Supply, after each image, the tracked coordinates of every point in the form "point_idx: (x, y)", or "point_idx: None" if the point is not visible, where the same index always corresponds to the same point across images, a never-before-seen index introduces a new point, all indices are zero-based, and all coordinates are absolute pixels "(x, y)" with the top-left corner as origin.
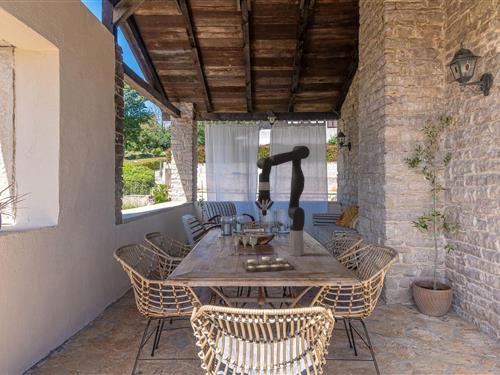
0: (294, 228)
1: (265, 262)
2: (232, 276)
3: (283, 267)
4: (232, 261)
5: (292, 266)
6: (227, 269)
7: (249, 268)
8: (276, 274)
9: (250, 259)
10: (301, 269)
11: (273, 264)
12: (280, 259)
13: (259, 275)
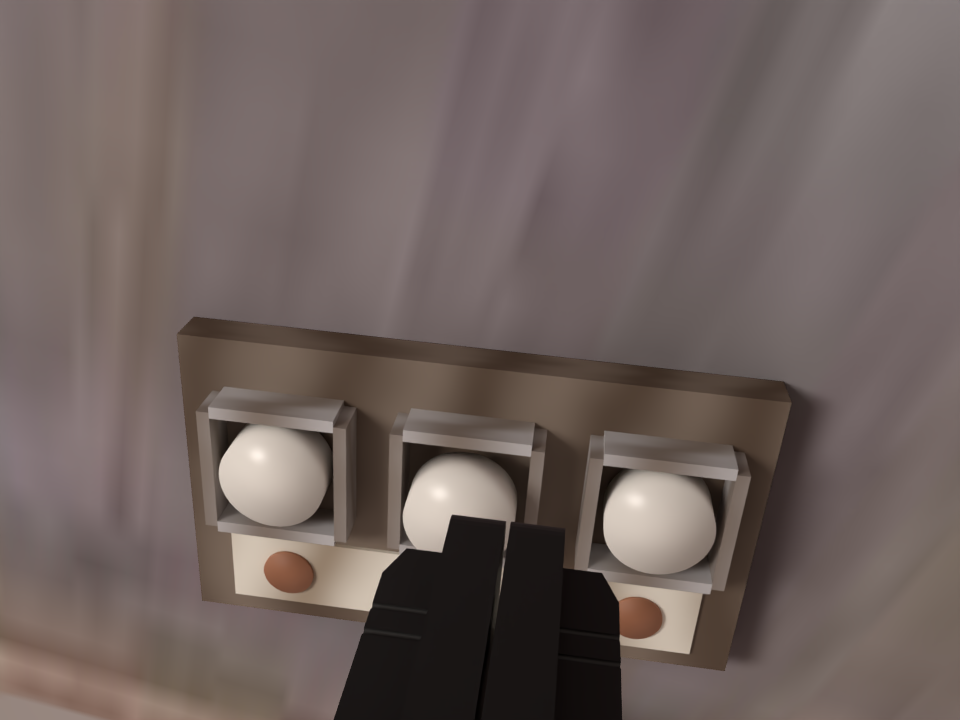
0: None
1: None
2: (78, 641)
3: None
4: (80, 65)
5: (715, 668)
6: (24, 423)
7: (235, 597)
8: None
9: (264, 440)
10: (809, 664)
11: None
12: (646, 556)
13: (322, 691)
